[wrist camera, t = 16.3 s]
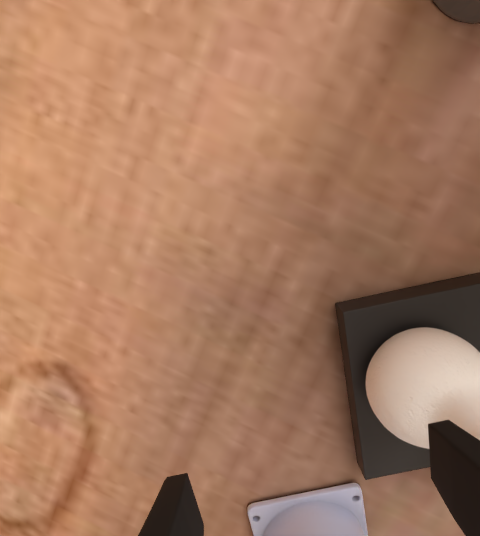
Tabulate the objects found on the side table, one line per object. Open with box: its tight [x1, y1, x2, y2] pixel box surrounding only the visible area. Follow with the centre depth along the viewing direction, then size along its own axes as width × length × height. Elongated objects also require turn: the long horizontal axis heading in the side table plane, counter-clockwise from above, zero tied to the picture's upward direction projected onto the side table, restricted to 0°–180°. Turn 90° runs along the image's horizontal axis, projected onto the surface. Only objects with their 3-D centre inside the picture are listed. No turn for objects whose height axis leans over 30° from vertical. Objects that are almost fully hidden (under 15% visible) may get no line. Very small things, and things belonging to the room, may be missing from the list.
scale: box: [335, 273, 480, 480], centre depth 20 cm, size 13×11×3 cm
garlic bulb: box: [365, 327, 480, 449], centre depth 16 cm, size 6×6×8 cm
